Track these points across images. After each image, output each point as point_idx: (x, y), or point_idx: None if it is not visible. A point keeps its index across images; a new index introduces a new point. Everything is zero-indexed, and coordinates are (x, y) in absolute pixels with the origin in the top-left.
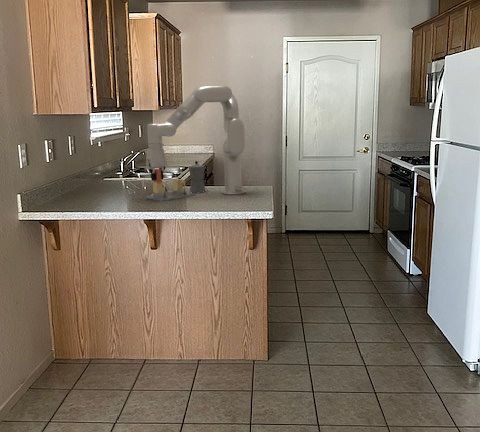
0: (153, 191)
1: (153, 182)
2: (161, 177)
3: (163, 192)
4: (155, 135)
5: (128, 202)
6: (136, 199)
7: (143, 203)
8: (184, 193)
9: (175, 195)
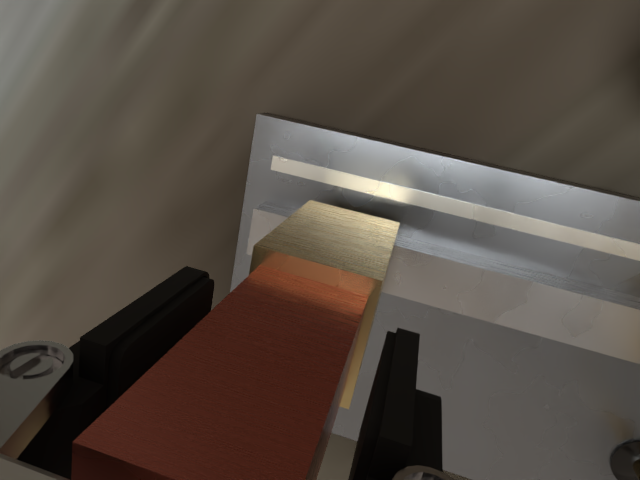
0: (303, 207)
1: (252, 264)
2: (359, 437)
3: (429, 286)
4: None
5: (4, 116)
6: (164, 44)
7: (54, 300)
8: (632, 465)
9: (461, 423)
